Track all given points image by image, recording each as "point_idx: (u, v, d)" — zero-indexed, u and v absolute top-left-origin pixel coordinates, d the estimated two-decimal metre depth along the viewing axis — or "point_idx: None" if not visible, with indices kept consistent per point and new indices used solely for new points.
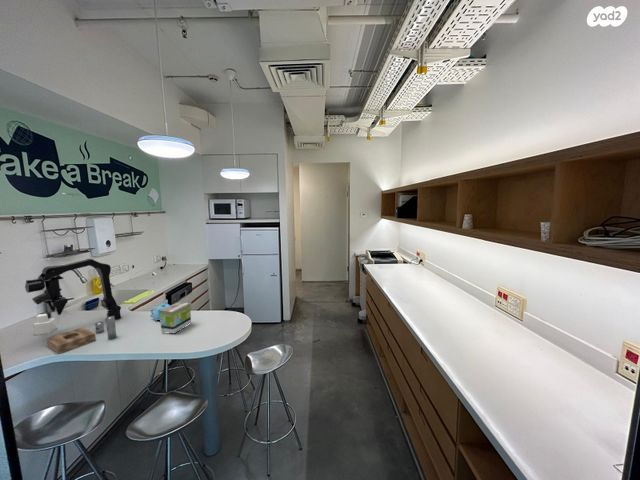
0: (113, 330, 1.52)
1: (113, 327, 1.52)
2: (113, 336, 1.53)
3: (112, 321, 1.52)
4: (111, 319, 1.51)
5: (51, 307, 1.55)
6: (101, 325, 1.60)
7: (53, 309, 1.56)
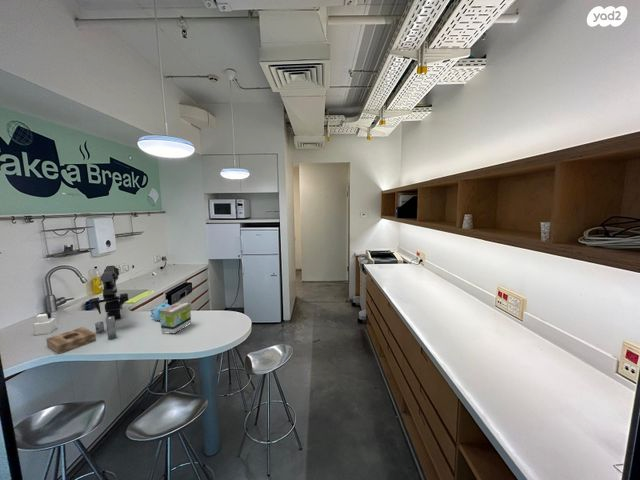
0: (113, 330, 1.52)
1: (113, 327, 1.52)
2: (113, 336, 1.53)
3: (112, 321, 1.52)
4: (111, 319, 1.51)
5: None
6: (101, 325, 1.60)
7: (100, 312, 1.56)
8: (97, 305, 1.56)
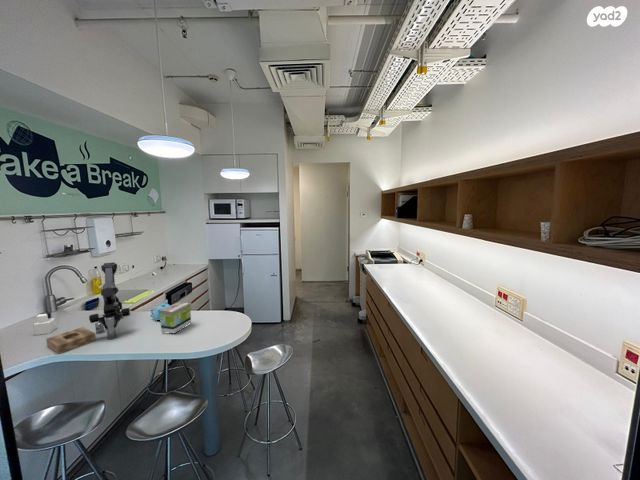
0: (113, 330, 1.52)
1: (113, 327, 1.52)
2: (113, 336, 1.53)
3: (112, 321, 1.52)
4: (111, 319, 1.51)
5: None
6: (101, 325, 1.60)
7: (106, 327, 1.51)
8: (103, 320, 1.51)
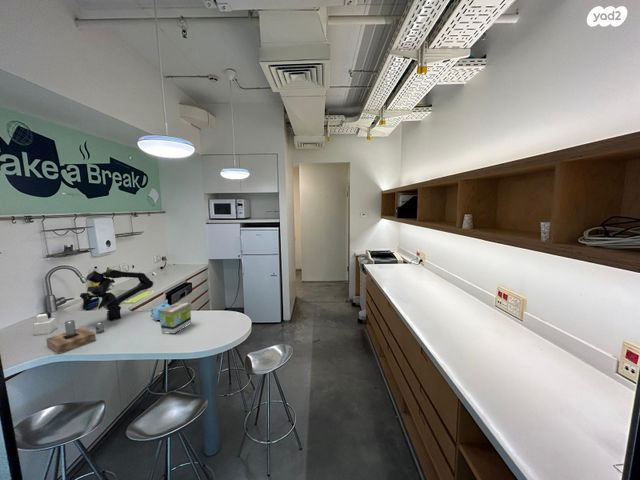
0: (70, 336, 1.45)
1: (70, 333, 1.45)
2: None
3: (69, 326, 1.45)
4: (67, 324, 1.44)
5: (85, 304, 1.64)
6: (101, 325, 1.60)
7: (85, 307, 1.64)
8: (84, 300, 1.64)
